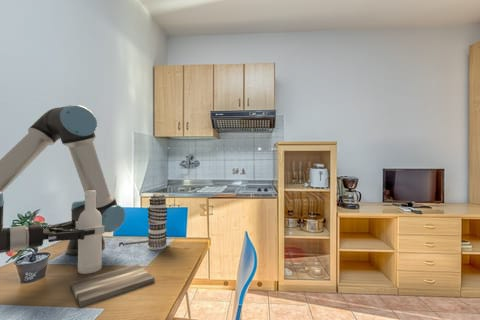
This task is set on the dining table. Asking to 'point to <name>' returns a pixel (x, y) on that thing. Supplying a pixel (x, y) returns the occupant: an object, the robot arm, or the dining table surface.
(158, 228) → the decorative candle
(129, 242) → the wooden handled claw tool
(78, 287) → the subfloor panel
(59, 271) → the dining table surface
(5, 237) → the robot arm
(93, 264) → the bottle
